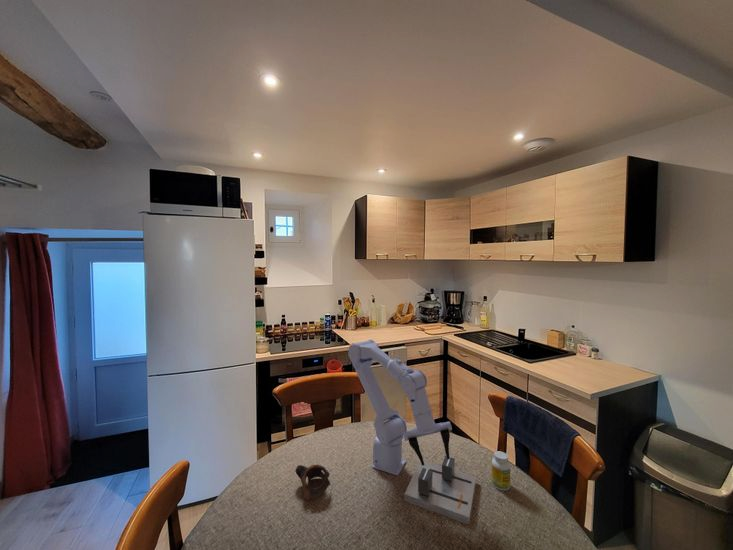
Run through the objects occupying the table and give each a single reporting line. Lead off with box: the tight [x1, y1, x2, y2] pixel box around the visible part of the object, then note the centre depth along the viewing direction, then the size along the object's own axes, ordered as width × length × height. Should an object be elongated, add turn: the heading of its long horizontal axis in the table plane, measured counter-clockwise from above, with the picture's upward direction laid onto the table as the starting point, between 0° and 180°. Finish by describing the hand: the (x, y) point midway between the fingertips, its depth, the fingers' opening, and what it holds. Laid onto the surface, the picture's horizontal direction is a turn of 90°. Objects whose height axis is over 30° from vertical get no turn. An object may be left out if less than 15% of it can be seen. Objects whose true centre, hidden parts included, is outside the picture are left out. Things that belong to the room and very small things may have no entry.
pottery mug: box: [294, 464, 331, 501], centre depth 90 cm, size 12×10×8 cm
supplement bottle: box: [491, 450, 511, 491], centre depth 92 cm, size 5×5×10 cm
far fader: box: [441, 455, 456, 481], centre depth 94 cm, size 3×5×4 cm, turn 154°
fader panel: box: [403, 460, 477, 525], centre depth 90 cm, size 18×17×2 cm
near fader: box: [418, 468, 433, 496], centre depth 88 cm, size 3×5×4 cm, turn 154°
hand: (435, 461), depth 87 cm, fingers open, 7 cm apart
